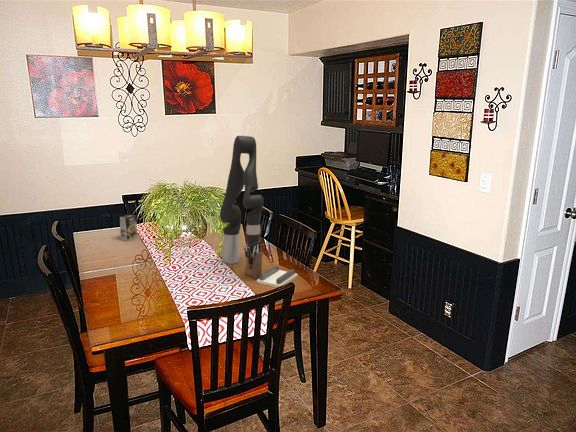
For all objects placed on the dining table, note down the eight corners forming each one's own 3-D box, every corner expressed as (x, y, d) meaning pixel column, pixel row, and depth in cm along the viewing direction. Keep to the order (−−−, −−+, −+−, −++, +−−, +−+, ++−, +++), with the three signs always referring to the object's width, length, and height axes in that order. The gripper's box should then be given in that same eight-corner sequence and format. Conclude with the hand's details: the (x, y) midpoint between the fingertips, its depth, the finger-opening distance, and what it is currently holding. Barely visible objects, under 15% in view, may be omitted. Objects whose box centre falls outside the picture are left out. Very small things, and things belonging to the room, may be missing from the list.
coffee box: (127, 241, 291) (126, 217, 287) (120, 240, 293) (119, 216, 289) (137, 238, 299) (136, 215, 295) (130, 236, 301) (129, 214, 297)
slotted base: (256, 282, 226) (256, 275, 226) (274, 271, 243) (274, 264, 242) (280, 288, 220) (280, 280, 219) (297, 276, 237) (297, 269, 236)
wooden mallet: (256, 279, 231) (256, 246, 227) (244, 273, 239) (245, 241, 235) (261, 278, 233) (262, 245, 229) (250, 272, 241) (250, 240, 237)
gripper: (254, 228, 238) (254, 258, 242) (239, 234, 226) (239, 265, 230) (266, 230, 235) (265, 260, 239) (252, 236, 223) (251, 268, 226)
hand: (253, 262), depth 234 cm, fingers closed on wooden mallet, 4 cm apart
